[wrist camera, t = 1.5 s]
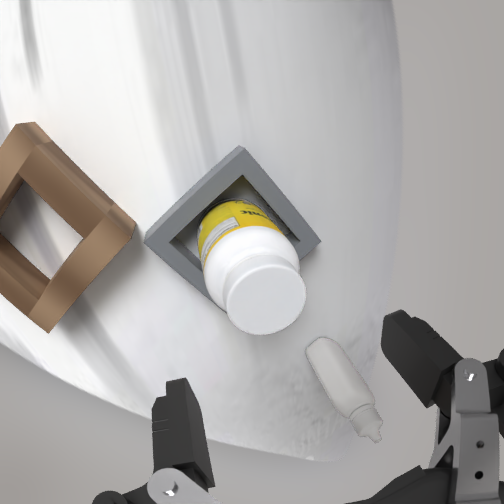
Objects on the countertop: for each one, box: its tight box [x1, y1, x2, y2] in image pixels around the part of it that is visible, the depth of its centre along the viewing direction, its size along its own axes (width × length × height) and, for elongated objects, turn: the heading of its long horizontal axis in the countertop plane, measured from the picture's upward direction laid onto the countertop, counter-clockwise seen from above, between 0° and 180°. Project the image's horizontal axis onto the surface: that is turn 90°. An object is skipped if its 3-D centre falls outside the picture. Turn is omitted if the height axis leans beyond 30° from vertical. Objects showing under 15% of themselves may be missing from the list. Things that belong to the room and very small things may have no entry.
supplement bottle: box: [197, 198, 307, 335], centre depth 19 cm, size 5×5×10 cm
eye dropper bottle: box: [305, 337, 383, 443], centre depth 26 cm, size 4×6×12 cm
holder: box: [144, 146, 321, 313], centre depth 23 cm, size 9×9×2 cm
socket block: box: [0, 122, 136, 334], centre depth 18 cm, size 11×11×3 cm
